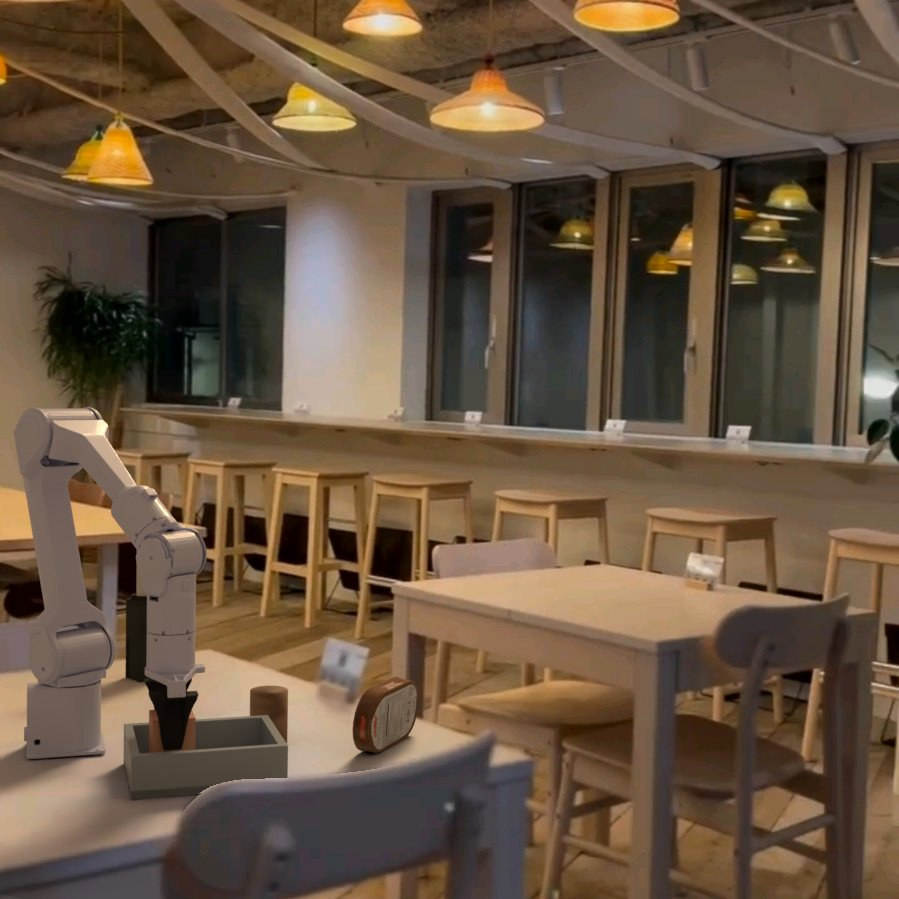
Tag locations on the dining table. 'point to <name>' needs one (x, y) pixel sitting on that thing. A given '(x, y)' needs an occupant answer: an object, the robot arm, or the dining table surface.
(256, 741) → the tote
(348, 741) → the dining table surface
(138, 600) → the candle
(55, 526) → the robot arm
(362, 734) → the tin
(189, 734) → the terracotta cube
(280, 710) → the walnut cylinder
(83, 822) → the dining table surface
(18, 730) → the dining table surface
